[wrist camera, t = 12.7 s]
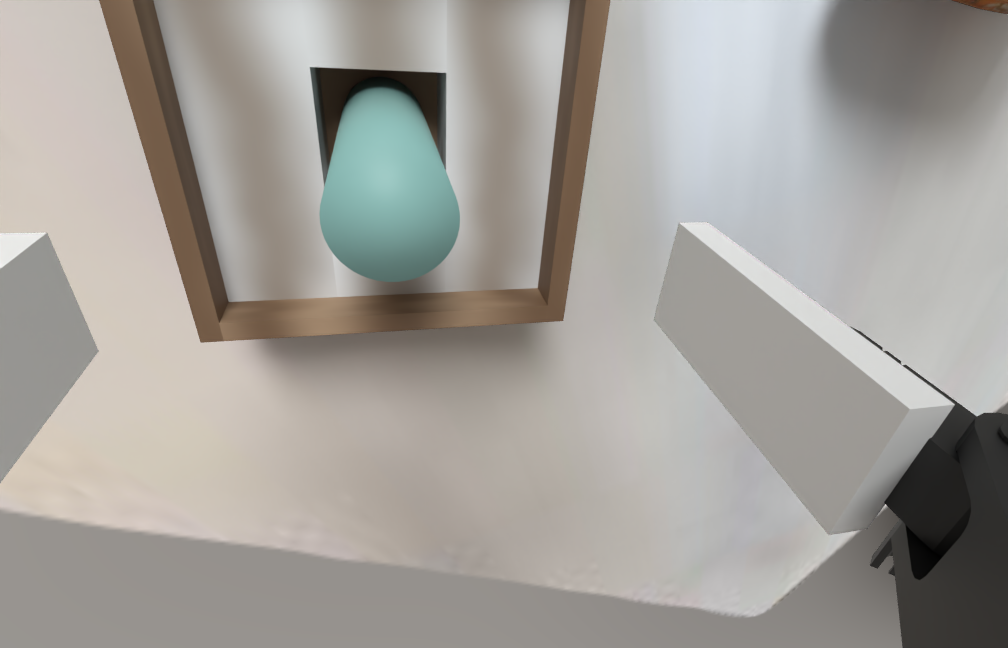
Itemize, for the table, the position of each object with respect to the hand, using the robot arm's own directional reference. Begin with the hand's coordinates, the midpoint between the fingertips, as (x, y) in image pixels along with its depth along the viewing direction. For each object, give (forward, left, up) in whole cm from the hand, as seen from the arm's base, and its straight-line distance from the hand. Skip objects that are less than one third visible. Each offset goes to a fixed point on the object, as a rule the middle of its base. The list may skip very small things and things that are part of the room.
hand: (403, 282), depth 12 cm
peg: (0, 0, -18) cm, 18 cm away
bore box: (0, 0, -19) cm, 19 cm away
